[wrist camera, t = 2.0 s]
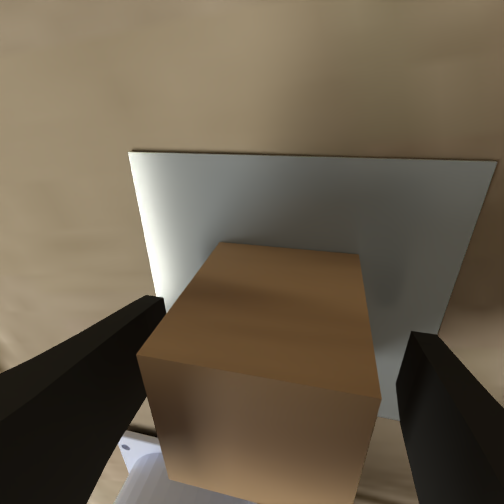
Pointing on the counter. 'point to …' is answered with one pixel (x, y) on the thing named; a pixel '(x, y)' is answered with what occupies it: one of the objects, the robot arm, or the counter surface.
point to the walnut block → (266, 376)
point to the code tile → (321, 227)
